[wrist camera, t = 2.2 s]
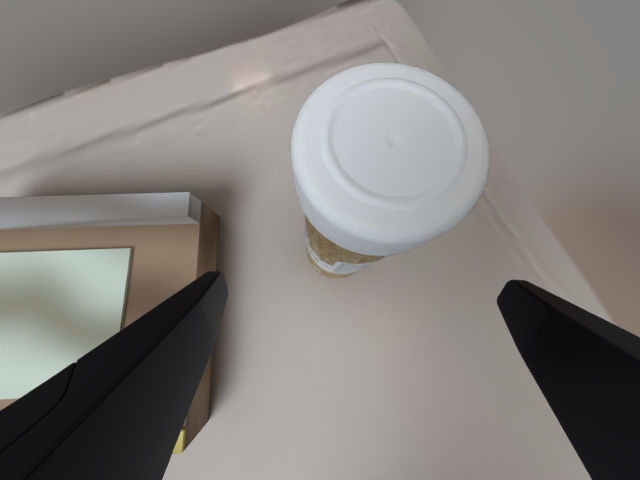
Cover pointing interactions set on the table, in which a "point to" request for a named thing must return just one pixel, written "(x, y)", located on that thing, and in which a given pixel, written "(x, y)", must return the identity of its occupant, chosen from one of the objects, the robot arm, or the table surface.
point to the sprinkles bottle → (384, 164)
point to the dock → (94, 279)
